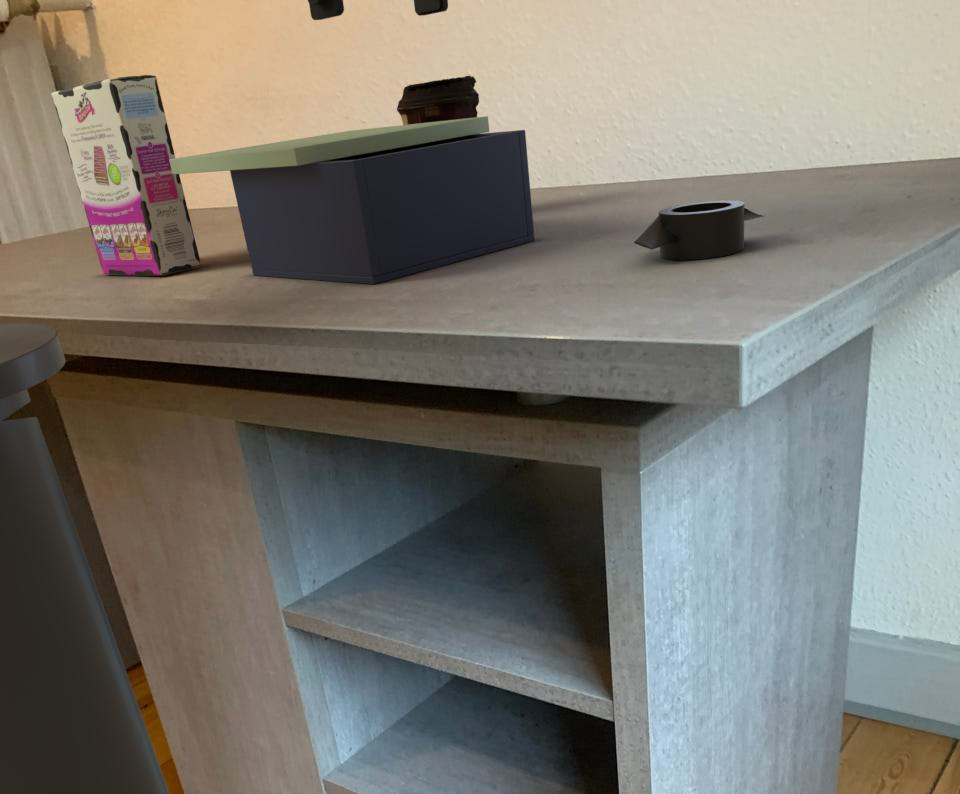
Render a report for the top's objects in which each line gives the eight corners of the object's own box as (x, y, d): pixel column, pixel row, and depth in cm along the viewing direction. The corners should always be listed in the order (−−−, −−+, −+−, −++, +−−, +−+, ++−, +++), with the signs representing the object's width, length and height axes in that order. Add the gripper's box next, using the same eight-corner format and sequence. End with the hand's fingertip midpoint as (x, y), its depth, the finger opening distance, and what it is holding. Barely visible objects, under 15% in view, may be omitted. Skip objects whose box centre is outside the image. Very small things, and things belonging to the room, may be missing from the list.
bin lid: (297, 165, 73) (294, 148, 72) (172, 174, 86) (168, 159, 86) (489, 131, 84) (488, 116, 83) (352, 144, 97) (350, 130, 97)
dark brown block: (511, 213, 103) (497, 71, 96) (458, 227, 98) (439, 79, 91) (451, 215, 108) (434, 80, 102) (397, 228, 103) (376, 88, 97)
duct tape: (787, 251, 65) (788, 204, 64) (637, 269, 66) (635, 223, 65) (760, 235, 72) (761, 192, 71) (624, 252, 73) (622, 210, 71)
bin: (373, 284, 74) (353, 160, 70) (253, 275, 86) (229, 169, 82) (535, 240, 84) (525, 129, 80) (406, 238, 96) (392, 141, 91)
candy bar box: (205, 266, 95) (158, 73, 87) (162, 277, 92) (108, 77, 84) (144, 265, 102) (94, 86, 94) (101, 275, 99) (46, 90, 91)
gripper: (409, -261, 71) (437, 18, 79) (196, -296, 61) (253, 26, 69) (480, -297, 66) (501, 5, 74) (260, -342, 56) (313, 12, 64)
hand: (381, 15), depth 71 cm, fingers open, 9 cm apart
